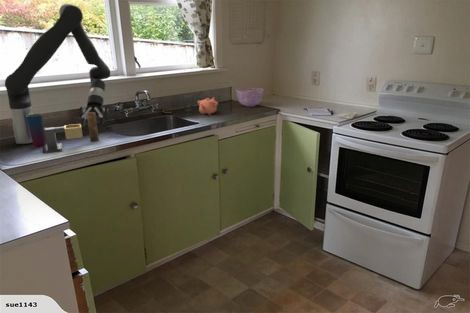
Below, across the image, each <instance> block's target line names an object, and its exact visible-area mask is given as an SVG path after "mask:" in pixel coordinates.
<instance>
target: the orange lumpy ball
mask: <svg viewBox="0 0 470 313" xmlns="http://www.w3.org/2000/svg"><path fill="white" fill-rule="evenodd" d="M197 104H198V107H199V108H198V109H199V110H198V111H199V113H200V114H201V115H206V114H207V115H208V116H212V114H215V112H217V107H218V105H219V102H218V101H216V99H215V96H214V97H212V98H211V99H210V98H209V97H206V98H205V99H202V100H198V101H197Z"/></svg>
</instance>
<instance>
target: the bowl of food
mask: <svg viewBox="0 0 470 313" xmlns="http://www.w3.org/2000/svg"><path fill="white" fill-rule="evenodd" d="M235 91H236V96H237V100H238V102H239V104H240V105H243V106H244V107H249V108H254V107H256V106H257V105H259V104H261V102H262V99H263V96H264V91H265V88H260V87H239V88H236V89H235Z"/></svg>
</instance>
